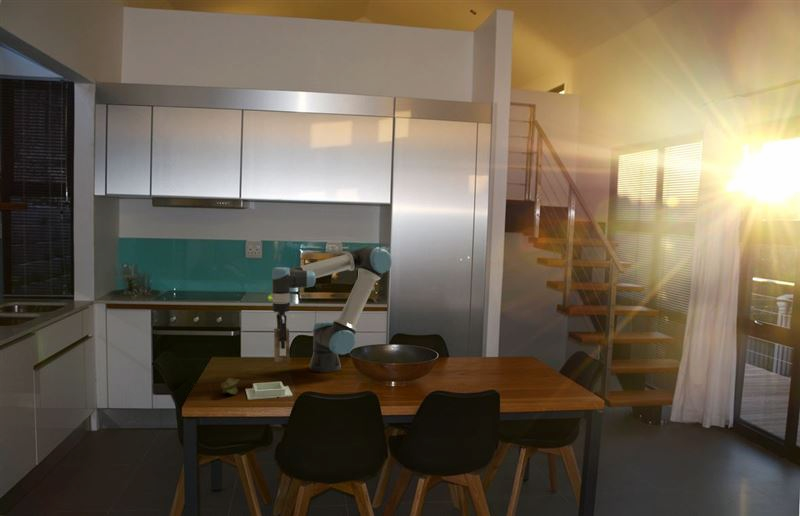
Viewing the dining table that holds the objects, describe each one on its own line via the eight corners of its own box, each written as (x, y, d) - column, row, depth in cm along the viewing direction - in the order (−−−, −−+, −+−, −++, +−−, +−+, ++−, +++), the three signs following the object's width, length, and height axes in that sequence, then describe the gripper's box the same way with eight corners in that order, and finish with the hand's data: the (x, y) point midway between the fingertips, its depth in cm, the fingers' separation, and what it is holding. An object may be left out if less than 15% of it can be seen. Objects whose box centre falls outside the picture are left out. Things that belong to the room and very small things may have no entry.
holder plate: (287, 387, 268) (288, 380, 267) (292, 396, 254) (292, 389, 254) (245, 390, 262) (245, 383, 262) (248, 399, 249) (248, 392, 248)
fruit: (249, 393, 257) (249, 378, 257) (223, 399, 249) (223, 383, 248) (234, 388, 265) (234, 373, 265) (209, 393, 257) (209, 378, 256)
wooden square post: (288, 358, 277) (287, 327, 276) (289, 361, 273) (289, 329, 272) (274, 359, 275) (274, 328, 274) (275, 362, 271) (275, 330, 270)
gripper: (270, 299, 279) (271, 350, 281) (275, 305, 262) (275, 359, 264) (287, 299, 282) (287, 349, 284) (292, 304, 265) (293, 358, 266)
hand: (282, 354), depth 274 cm, fingers closed on wooden square post, 5 cm apart
